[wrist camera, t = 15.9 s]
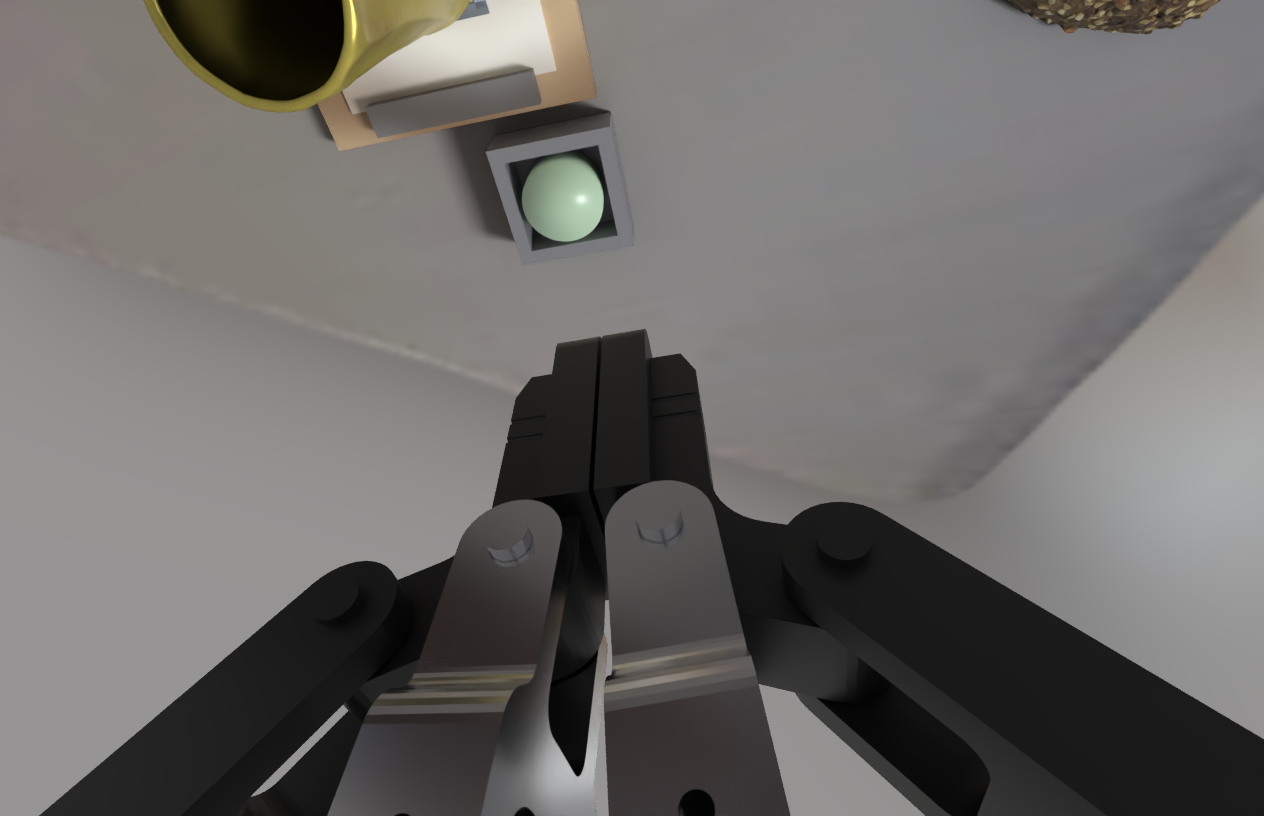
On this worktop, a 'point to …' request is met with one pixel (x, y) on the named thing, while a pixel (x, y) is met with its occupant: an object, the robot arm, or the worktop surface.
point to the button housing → (524, 147)
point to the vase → (292, 43)
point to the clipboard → (468, 73)
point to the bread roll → (1115, 13)
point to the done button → (563, 196)
